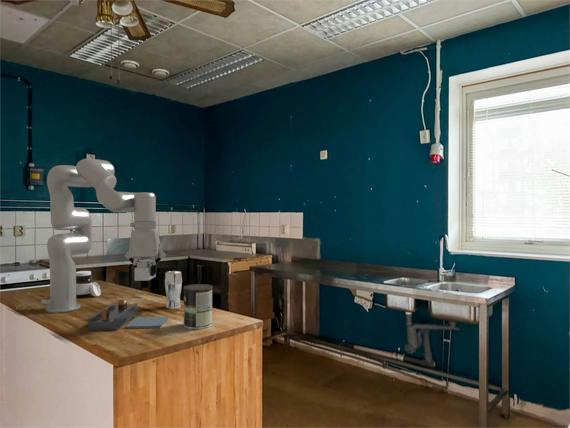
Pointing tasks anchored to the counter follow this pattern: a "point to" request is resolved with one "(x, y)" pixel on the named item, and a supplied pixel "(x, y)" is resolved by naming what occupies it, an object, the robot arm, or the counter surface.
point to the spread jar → (86, 285)
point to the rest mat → (146, 322)
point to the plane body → (112, 316)
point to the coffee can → (197, 306)
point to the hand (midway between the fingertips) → (145, 275)
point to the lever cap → (143, 271)
